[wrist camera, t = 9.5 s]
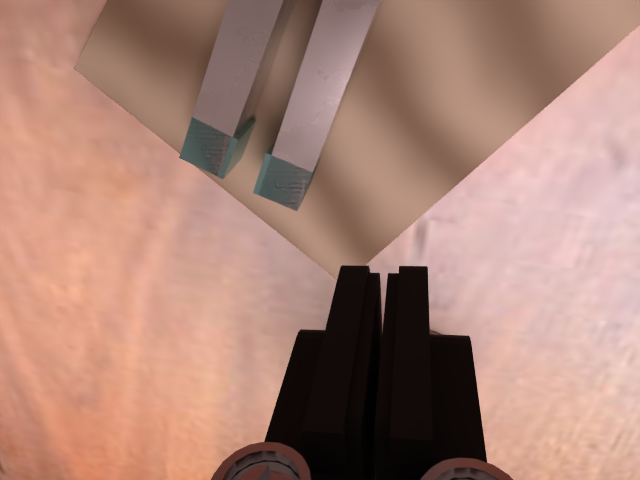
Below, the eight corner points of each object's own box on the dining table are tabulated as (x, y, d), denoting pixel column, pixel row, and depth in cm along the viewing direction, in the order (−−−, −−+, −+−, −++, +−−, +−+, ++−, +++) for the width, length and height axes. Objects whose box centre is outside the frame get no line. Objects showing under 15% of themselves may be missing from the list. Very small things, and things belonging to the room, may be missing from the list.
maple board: (346, 270, 34) (342, 284, 32) (90, 62, 30) (73, 68, 28) (663, -12, 23) (678, -10, 21) (327, -399, 19) (320, -426, 17)
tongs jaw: (367, -124, 21) (358, -133, 19) (421, -100, 21) (420, -106, 19) (268, 170, 29) (252, 192, 26) (308, 188, 29) (297, 211, 26)
